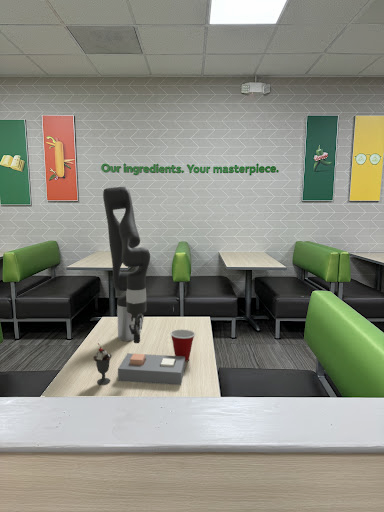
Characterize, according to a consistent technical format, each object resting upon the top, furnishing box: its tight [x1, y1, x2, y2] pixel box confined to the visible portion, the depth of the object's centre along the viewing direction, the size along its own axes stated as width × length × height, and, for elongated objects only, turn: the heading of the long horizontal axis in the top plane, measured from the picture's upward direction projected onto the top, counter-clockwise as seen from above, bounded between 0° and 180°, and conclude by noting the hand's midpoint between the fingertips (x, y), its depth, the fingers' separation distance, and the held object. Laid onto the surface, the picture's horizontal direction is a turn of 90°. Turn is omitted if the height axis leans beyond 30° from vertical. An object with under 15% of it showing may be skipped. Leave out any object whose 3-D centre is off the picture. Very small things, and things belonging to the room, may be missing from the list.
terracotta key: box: [130, 353, 145, 365], centre depth 133 cm, size 5×5×4 cm
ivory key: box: [161, 358, 175, 367], centre depth 132 cm, size 5×5×4 cm
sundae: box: [93, 343, 113, 386], centre depth 126 cm, size 7×7×15 cm
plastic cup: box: [170, 329, 196, 362], centre depth 145 cm, size 11×11×12 cm
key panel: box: [117, 352, 186, 386], centre depth 133 cm, size 13×24×5 cm, turn 85°
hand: (137, 342), depth 131 cm, fingers closed
